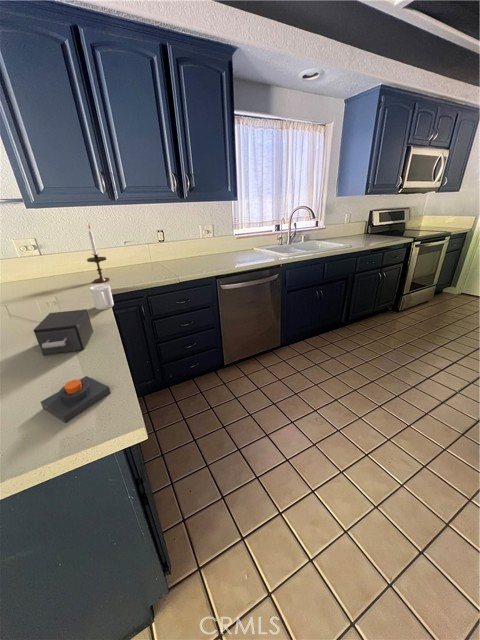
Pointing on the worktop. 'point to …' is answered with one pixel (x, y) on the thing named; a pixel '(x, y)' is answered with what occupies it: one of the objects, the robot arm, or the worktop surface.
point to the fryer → (69, 324)
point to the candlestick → (96, 260)
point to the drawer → (58, 340)
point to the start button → (73, 386)
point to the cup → (102, 296)
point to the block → (75, 399)
